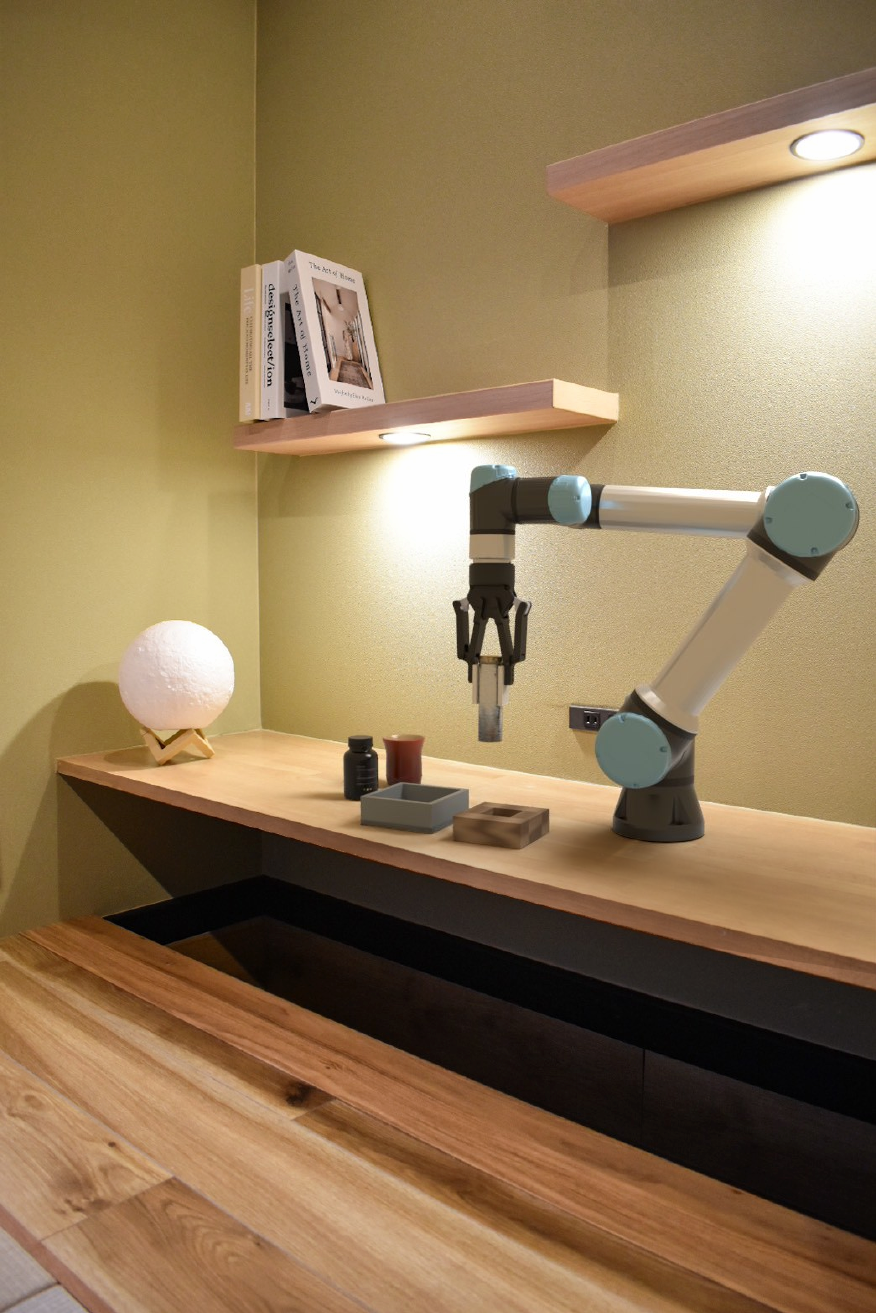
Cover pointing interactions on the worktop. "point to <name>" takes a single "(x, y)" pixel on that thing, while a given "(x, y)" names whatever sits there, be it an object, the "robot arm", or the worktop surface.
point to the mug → (403, 758)
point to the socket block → (501, 824)
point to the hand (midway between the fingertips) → (490, 703)
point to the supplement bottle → (360, 767)
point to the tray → (413, 807)
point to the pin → (489, 700)
